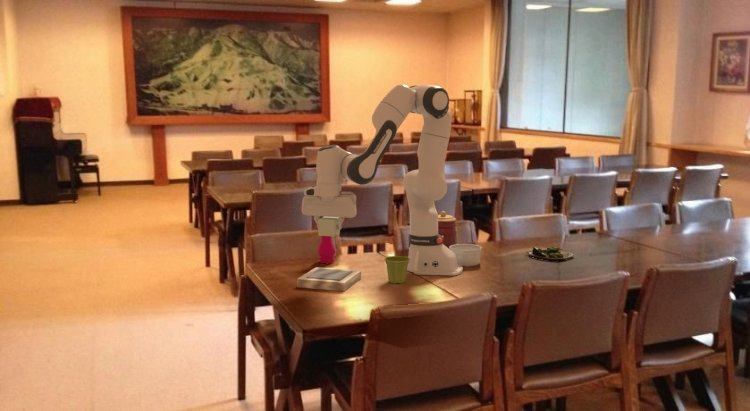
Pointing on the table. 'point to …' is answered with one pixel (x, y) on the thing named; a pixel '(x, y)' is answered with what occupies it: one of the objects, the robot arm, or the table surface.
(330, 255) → the pepper mill
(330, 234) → the sage cube
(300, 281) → the plinth
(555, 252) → the salad plate
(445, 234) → the canister
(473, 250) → the ramekin
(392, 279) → the plant pot
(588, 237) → the table surface
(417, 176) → the robot arm
